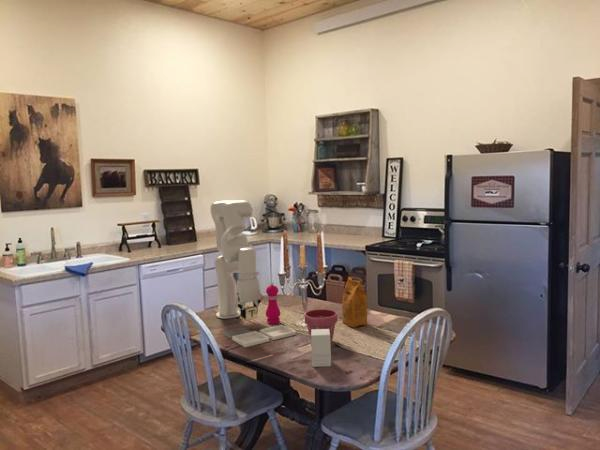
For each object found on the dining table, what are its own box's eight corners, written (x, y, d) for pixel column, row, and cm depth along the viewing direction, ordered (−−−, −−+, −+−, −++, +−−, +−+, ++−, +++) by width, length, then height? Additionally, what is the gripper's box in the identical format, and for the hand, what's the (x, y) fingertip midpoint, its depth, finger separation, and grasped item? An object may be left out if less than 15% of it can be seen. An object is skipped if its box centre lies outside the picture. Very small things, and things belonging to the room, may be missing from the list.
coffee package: (357, 318, 254) (356, 275, 252) (370, 325, 243) (369, 280, 240) (339, 321, 251) (338, 277, 248) (351, 329, 239) (350, 282, 237)
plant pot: (314, 334, 233) (313, 307, 232) (343, 338, 227) (342, 310, 225) (299, 344, 221) (298, 315, 219) (329, 349, 214) (328, 319, 212)
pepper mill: (278, 324, 249) (277, 284, 246) (264, 324, 250) (262, 284, 248) (282, 320, 256) (280, 280, 253) (268, 319, 257) (266, 280, 255)
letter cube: (241, 317, 227) (241, 306, 226) (251, 315, 229) (251, 304, 229) (247, 320, 222) (246, 309, 222) (257, 318, 225) (256, 307, 224)
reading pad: (219, 333, 239) (219, 332, 239) (242, 327, 246) (242, 326, 246) (229, 339, 231) (229, 337, 231) (252, 333, 237) (252, 332, 237)
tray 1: (232, 340, 228) (232, 336, 228) (255, 335, 235) (255, 330, 235) (245, 348, 218) (244, 343, 218) (269, 342, 225) (269, 337, 225)
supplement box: (330, 359, 203) (330, 328, 202) (331, 366, 196) (330, 334, 194) (312, 359, 204) (311, 328, 202) (311, 367, 196) (310, 335, 195)
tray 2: (259, 334, 236) (259, 329, 236) (281, 328, 243) (281, 324, 242) (273, 341, 226) (273, 336, 226) (296, 335, 233) (295, 331, 233)
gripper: (260, 271, 231) (261, 310, 234) (226, 277, 222) (227, 318, 224) (269, 274, 225) (270, 314, 228) (234, 280, 215) (235, 322, 218)
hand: (249, 316), depth 226 cm, fingers closed on letter cube, 4 cm apart
